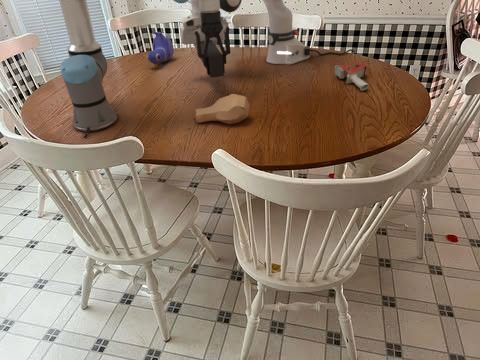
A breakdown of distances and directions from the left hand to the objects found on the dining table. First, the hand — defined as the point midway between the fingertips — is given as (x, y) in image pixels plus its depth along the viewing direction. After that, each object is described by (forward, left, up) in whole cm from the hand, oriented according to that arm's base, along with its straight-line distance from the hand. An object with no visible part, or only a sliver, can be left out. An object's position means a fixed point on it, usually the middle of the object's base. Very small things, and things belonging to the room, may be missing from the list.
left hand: (215, 72), depth 144 cm
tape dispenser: (+7, -58, -9) cm, 59 cm away
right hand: (+20, +5, +3) cm, 21 cm away
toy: (+44, +32, -9) cm, 55 cm away
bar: (+10, +3, -1) cm, 11 cm away
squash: (-25, -4, -9) cm, 27 cm away
